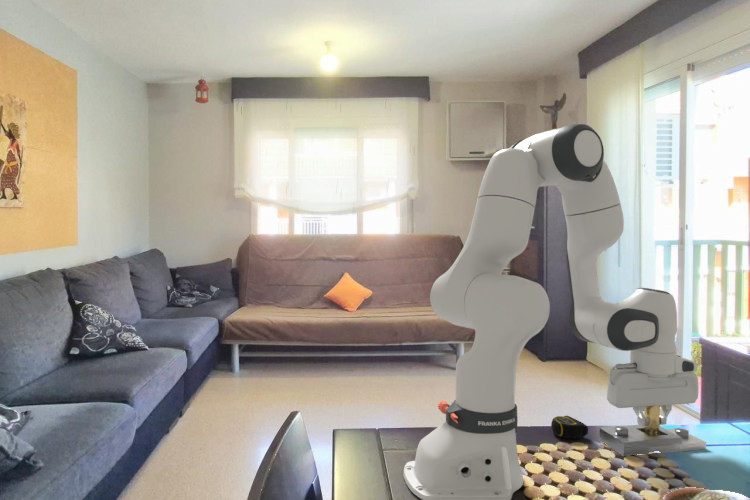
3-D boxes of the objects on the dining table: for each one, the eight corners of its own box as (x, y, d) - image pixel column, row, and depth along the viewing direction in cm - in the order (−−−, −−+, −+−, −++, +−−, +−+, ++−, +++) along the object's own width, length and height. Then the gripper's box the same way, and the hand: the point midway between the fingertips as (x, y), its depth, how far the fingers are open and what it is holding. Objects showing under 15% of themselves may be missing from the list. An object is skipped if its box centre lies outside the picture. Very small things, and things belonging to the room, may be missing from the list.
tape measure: (589, 439, 114) (589, 423, 114) (564, 443, 112) (564, 427, 112) (569, 428, 120) (569, 413, 120) (545, 432, 118) (545, 416, 118)
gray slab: (623, 456, 105) (623, 436, 105) (599, 441, 113) (599, 422, 113) (706, 449, 108) (706, 429, 108) (677, 434, 116) (677, 416, 116)
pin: (650, 444, 109) (651, 398, 108) (640, 438, 112) (641, 394, 111) (662, 443, 109) (663, 397, 109) (652, 437, 112) (653, 393, 112)
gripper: (620, 367, 105) (619, 433, 105) (704, 363, 109) (703, 426, 109) (601, 360, 111) (600, 422, 112) (681, 356, 115) (680, 416, 115)
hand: (651, 424), depth 110 cm, fingers closed on pin, 3 cm apart
